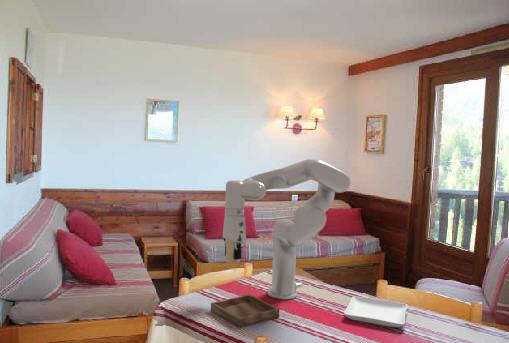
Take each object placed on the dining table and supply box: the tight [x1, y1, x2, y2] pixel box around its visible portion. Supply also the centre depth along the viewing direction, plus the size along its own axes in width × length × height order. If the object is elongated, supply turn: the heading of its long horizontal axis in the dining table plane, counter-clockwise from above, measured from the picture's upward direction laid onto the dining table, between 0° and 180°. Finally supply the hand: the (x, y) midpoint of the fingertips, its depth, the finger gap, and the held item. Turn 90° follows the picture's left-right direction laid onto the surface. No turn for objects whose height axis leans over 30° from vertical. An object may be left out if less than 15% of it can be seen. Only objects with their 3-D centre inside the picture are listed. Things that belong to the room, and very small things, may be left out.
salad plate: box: [343, 295, 409, 328], centre depth 170 cm, size 21×21×3 cm
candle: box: [225, 239, 241, 264], centre depth 179 cm, size 6×6×10 cm
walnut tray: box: [210, 293, 280, 329], centre depth 166 cm, size 18×18×3 cm
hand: (232, 256), depth 179 cm, fingers closed on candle, 5 cm apart
